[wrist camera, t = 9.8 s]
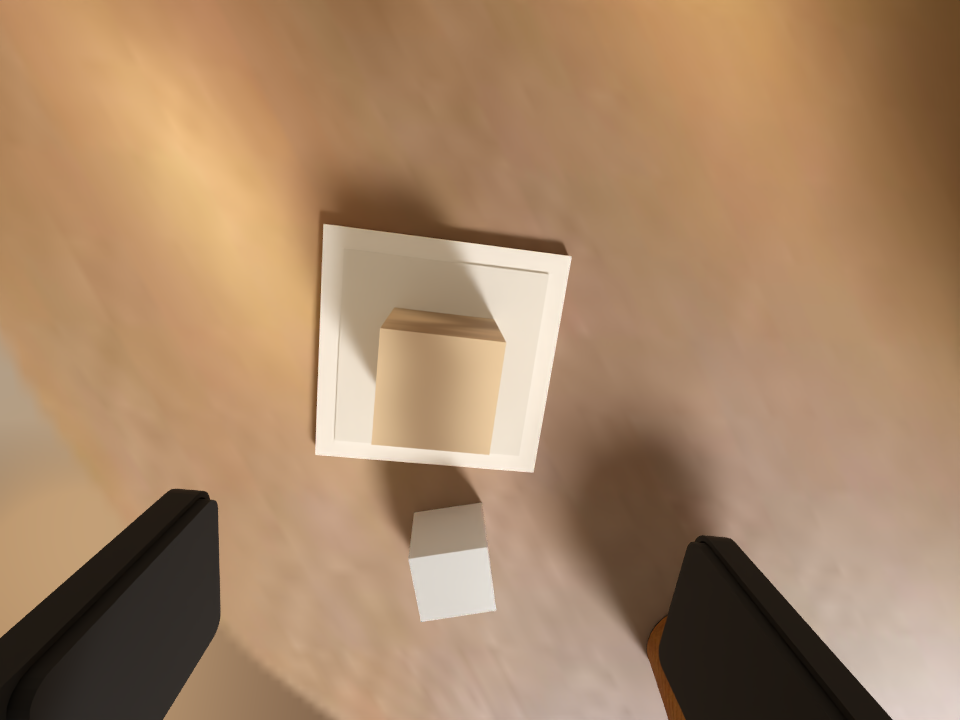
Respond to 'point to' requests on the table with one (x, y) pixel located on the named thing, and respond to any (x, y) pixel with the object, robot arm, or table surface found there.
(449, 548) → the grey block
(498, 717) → the table surface
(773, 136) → the table surface
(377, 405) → the oak cube
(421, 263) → the tray
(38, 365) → the table surface
